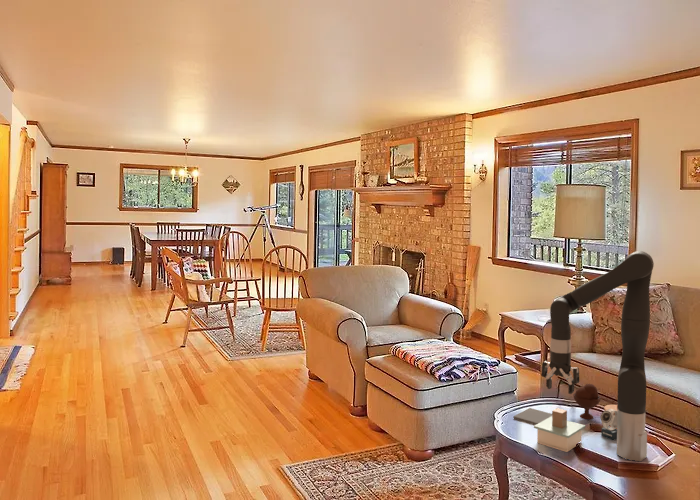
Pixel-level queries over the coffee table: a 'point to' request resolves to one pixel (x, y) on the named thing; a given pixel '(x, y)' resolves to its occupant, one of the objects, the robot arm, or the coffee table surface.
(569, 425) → the lid
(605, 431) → the watch
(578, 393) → the ice cream bowl
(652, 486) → the coffee table surface
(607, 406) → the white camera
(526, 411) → the mat
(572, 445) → the cream open storage box
